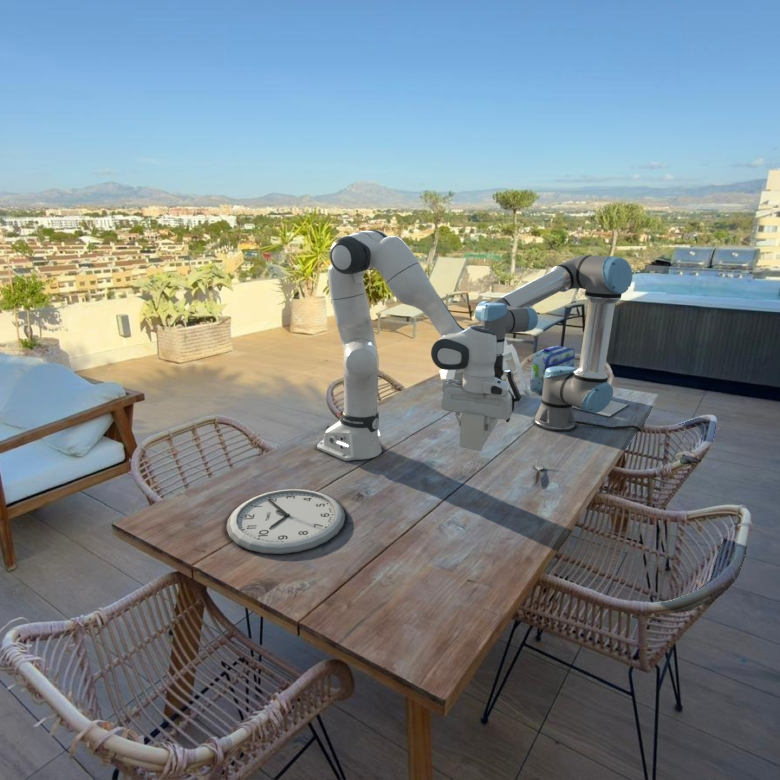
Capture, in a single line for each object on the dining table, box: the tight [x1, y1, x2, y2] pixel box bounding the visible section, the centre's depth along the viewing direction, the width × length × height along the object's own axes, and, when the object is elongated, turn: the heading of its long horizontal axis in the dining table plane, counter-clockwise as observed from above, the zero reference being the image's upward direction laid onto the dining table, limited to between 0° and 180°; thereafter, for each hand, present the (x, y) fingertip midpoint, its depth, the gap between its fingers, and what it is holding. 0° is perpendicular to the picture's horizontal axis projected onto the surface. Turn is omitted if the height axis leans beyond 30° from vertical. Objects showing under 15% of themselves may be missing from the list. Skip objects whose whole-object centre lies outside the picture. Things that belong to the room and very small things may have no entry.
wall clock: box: [226, 488, 346, 555], centre depth 135 cm, size 30×2×30 cm
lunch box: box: [529, 345, 576, 394], centre depth 244 cm, size 26×11×21 cm, turn 135°
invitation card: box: [573, 400, 629, 418], centre depth 226 cm, size 21×1×15 cm
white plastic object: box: [438, 336, 531, 397], centre depth 245 cm, size 37×45×31 cm
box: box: [458, 412, 498, 452], centre depth 160 cm, size 25×6×10 cm, turn 158°
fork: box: [534, 457, 545, 484], centre depth 163 cm, size 3×16×2 cm, turn 160°
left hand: (474, 428), depth 153 cm, fingers closed on box, 6 cm apart
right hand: (486, 417), depth 169 cm, fingers open, 13 cm apart
